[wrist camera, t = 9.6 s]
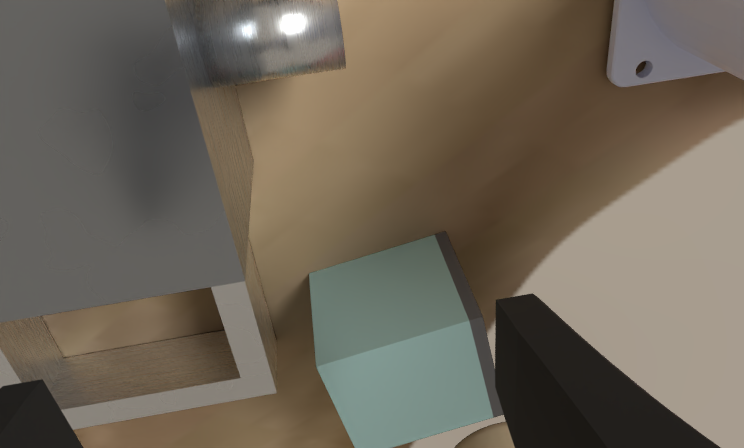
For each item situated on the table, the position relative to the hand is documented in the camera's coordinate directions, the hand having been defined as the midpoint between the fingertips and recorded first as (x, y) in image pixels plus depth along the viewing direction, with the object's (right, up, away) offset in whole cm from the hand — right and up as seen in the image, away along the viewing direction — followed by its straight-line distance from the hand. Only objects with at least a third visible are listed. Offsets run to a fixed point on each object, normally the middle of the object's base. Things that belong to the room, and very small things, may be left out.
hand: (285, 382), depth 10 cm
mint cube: (0, -2, +11) cm, 11 cm away
